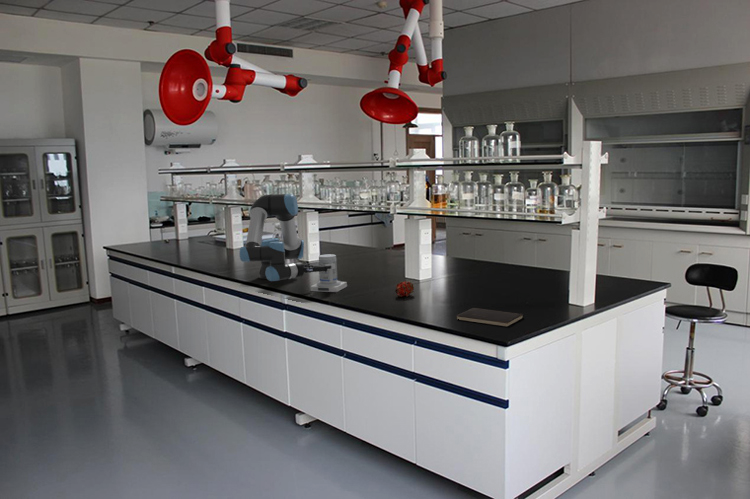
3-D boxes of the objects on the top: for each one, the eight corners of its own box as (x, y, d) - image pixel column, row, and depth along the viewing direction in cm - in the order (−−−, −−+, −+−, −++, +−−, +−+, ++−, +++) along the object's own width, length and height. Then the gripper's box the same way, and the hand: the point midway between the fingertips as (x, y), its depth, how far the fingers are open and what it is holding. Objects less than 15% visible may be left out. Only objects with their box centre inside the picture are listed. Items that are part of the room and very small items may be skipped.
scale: (321, 285, 330) (321, 279, 330) (346, 286, 325) (346, 280, 325) (310, 291, 316) (310, 284, 315) (336, 292, 311) (336, 285, 311)
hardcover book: (507, 328, 235) (507, 322, 235) (456, 320, 249) (456, 315, 248) (523, 319, 248) (523, 313, 247) (473, 312, 261) (473, 307, 261)
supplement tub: (332, 279, 327) (331, 253, 325) (340, 282, 319) (339, 255, 317) (316, 281, 322) (315, 255, 320) (324, 284, 314) (323, 257, 312)
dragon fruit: (415, 297, 300) (397, 304, 293) (405, 286, 304) (387, 293, 297) (420, 286, 294) (402, 293, 287) (410, 274, 299) (392, 281, 292)
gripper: (281, 274, 314) (313, 269, 328) (308, 280, 295) (341, 274, 309) (280, 260, 313) (312, 255, 327) (308, 265, 294) (341, 260, 308)
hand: (327, 264), depth 318 cm, fingers open, 13 cm apart
